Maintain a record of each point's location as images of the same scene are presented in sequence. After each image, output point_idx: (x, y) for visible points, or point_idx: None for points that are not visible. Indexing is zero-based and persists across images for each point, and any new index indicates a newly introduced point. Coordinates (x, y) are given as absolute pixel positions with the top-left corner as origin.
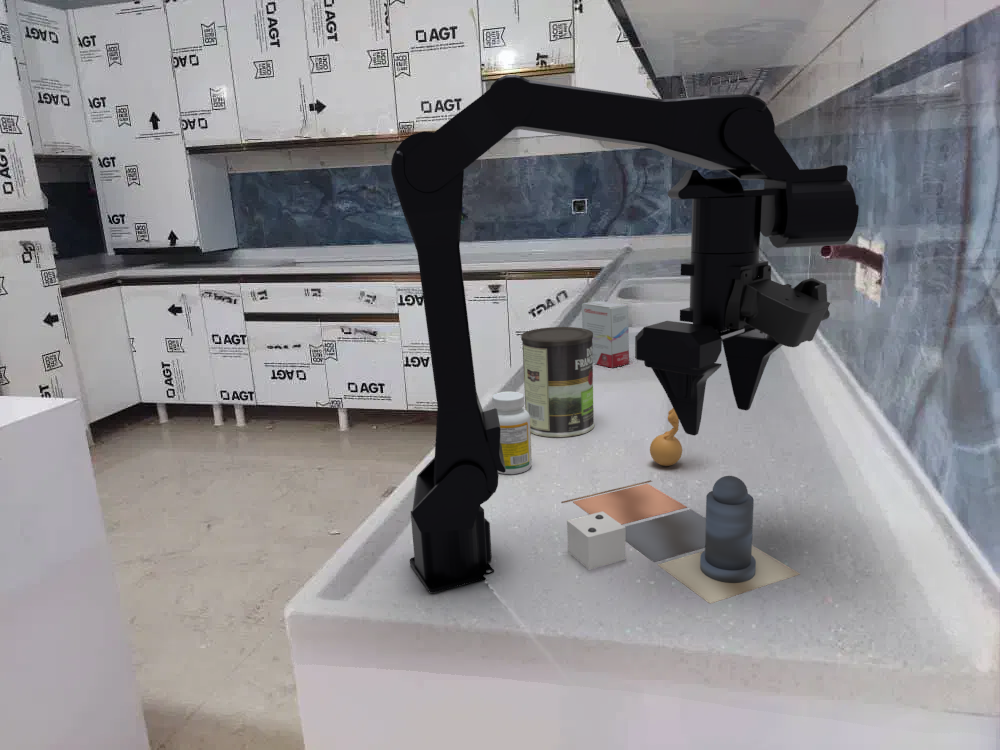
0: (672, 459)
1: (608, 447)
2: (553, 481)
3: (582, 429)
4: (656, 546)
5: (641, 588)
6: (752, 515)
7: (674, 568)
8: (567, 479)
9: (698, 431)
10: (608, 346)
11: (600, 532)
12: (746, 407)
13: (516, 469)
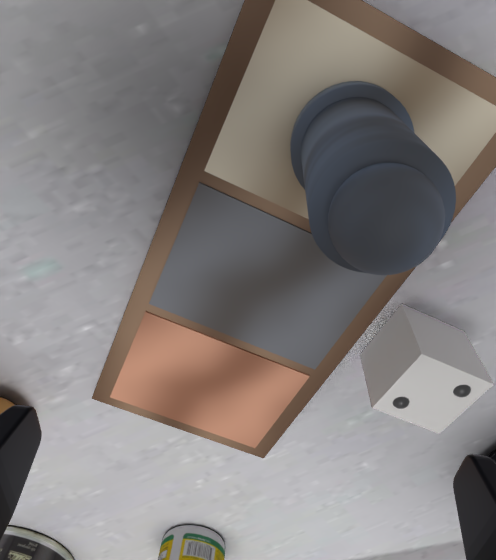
0: (2, 405)
1: (24, 486)
2: (195, 489)
3: (12, 535)
4: (330, 290)
5: (471, 249)
6: (369, 129)
7: None
8: (174, 480)
9: (482, 463)
10: None
11: (465, 377)
12: (29, 419)
13: (209, 536)
